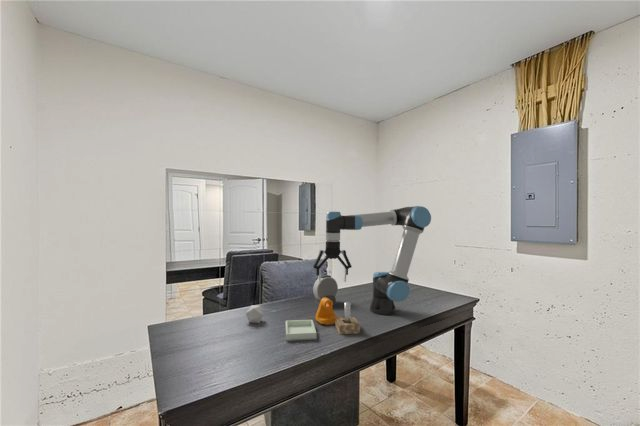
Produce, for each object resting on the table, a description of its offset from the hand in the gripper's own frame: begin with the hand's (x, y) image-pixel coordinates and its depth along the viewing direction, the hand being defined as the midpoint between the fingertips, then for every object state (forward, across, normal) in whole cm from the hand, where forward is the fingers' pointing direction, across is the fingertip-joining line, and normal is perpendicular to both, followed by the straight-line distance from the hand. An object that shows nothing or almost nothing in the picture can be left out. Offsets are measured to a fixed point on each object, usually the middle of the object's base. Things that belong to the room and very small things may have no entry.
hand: (332, 281), depth 144 cm
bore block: (+22, -6, +9) cm, 24 cm away
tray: (+22, +17, +9) cm, 29 cm away
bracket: (+22, +1, -3) cm, 22 cm away
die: (+22, +39, -8) cm, 46 cm away
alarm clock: (+22, -4, -34) cm, 40 cm away
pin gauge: (+22, -6, +9) cm, 24 cm away
